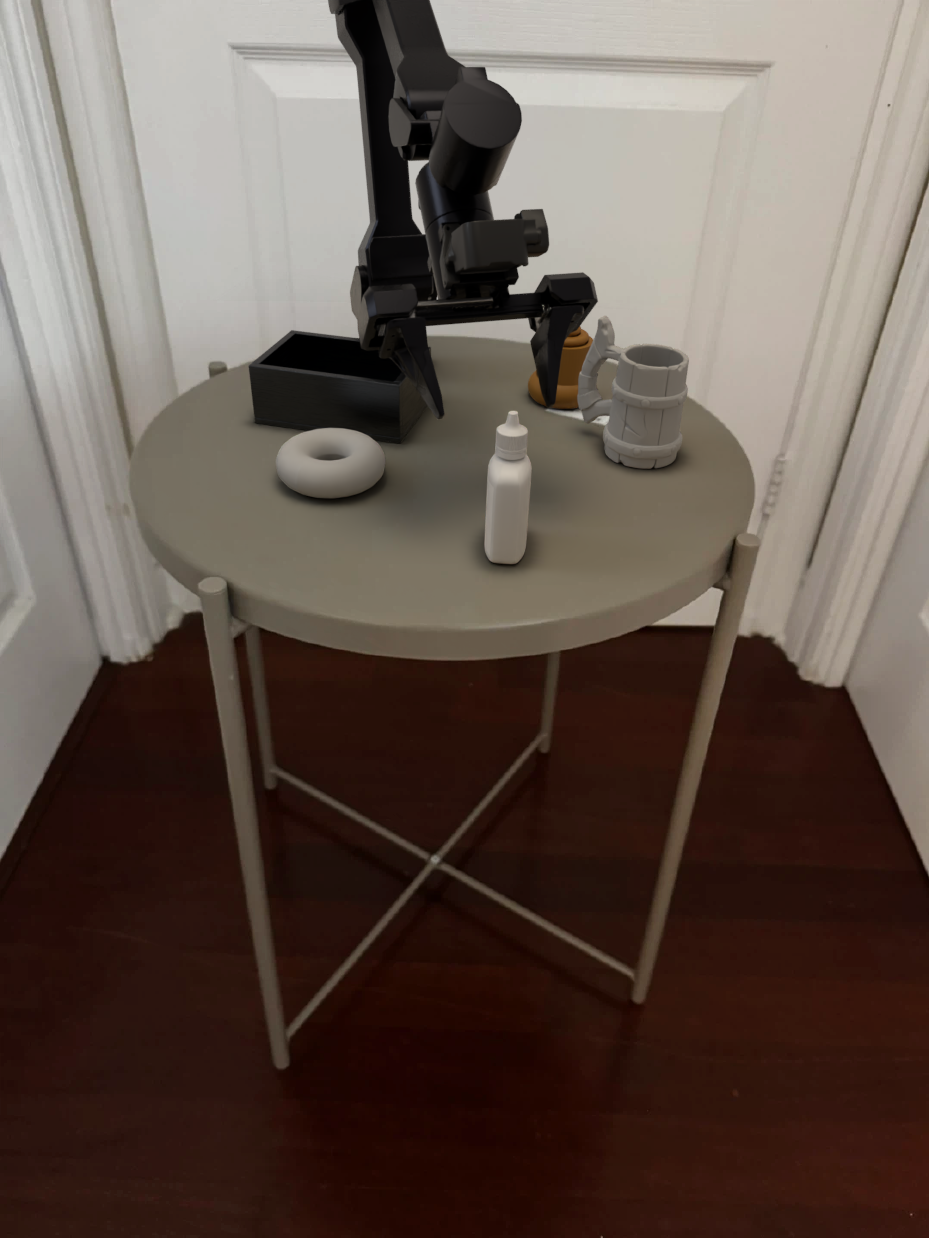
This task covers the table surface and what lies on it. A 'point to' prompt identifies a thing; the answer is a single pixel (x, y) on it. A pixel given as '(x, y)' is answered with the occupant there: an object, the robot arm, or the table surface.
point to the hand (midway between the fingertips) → (497, 411)
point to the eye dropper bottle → (508, 494)
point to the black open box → (333, 388)
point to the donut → (330, 462)
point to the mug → (636, 399)
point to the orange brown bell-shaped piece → (566, 371)
